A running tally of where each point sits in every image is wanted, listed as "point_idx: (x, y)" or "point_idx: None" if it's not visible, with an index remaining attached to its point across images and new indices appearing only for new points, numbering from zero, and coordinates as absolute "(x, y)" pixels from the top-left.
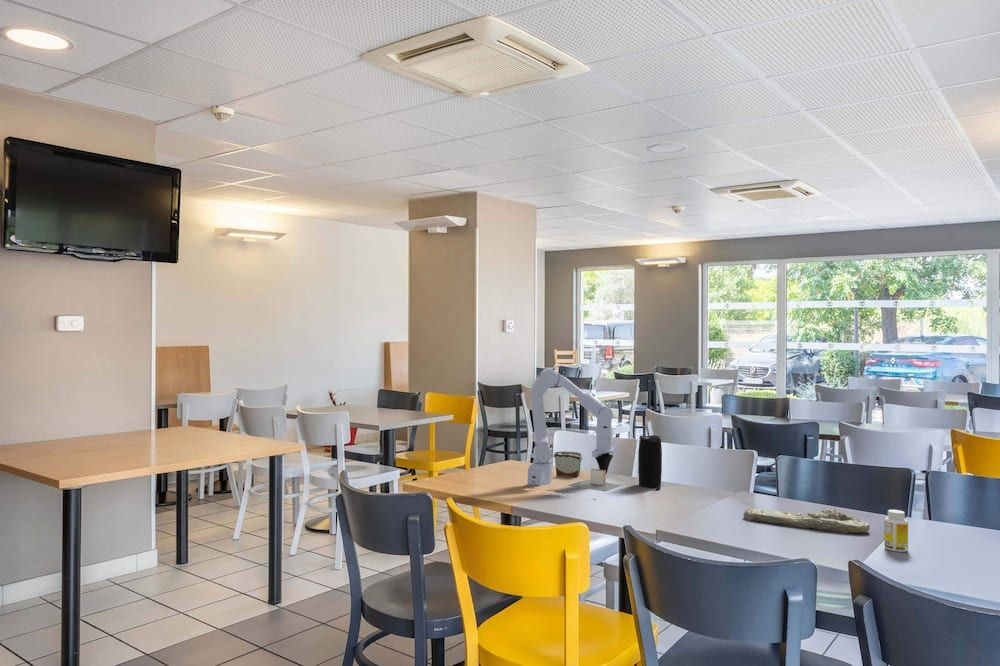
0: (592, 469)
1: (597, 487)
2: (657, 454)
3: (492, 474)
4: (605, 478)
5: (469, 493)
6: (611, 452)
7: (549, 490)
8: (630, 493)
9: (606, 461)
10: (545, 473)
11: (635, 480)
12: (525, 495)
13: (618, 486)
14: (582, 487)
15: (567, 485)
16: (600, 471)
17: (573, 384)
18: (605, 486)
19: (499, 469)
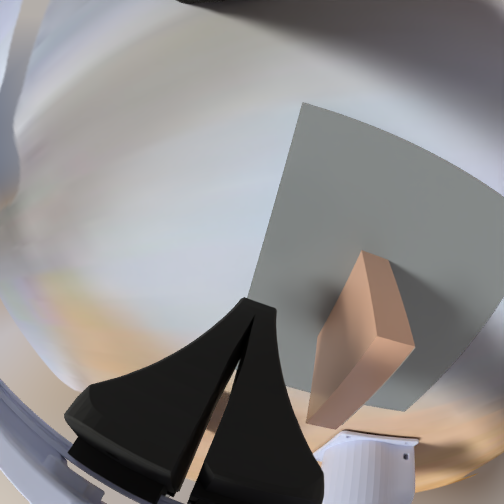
0: (344, 420)
1: (453, 289)
2: None
3: None
4: (369, 280)
5: (449, 478)
6: (9, 392)
7: (435, 424)
8: (455, 45)
9: (287, 425)
10: (392, 484)
11: (51, 128)
12: (488, 433)
13: (380, 137)
14: (453, 357)
15: (405, 409)
16: (395, 365)
17: None
18: (414, 243)
19: (193, 473)
